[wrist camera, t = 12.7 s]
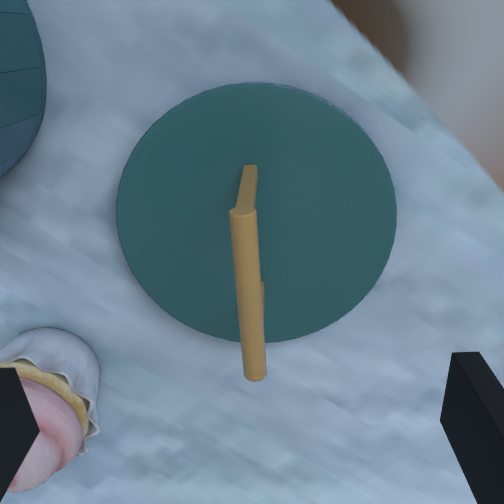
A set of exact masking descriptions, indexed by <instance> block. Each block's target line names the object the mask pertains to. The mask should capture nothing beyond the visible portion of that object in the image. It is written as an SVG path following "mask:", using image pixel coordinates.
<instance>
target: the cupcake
mask: <svg viewBox="0 0 504 504" xmlns="http://www.w3.org/2000/svg"><path fill="white" fill-rule="evenodd" d="M8 367H15V368H16V371H17V374H18V376H19V379H20V381H21V384H22V386H23V389H24V391H25V394H26V396H27V399H28V401H29V404H30V407H31V409H32V412H33V414H34V417H35V419H36V422H37V424H38V427H39V429H40V432H39V434H38V436H37V438H36V439H35V441H34V443H33V445H32V447H31V448H30V450H29V452H28V454H27V455H26V457H25V459H24V461H23V463H22V464H21V466H20V468H19V470H18V472H17V473H16V475H15V477H14V479H13V480H12V482H11V484H10V486H9V488H8V489H7V491H8V492H21V491H26V490H29V489H32V488H35V487H37V486H39V485H41V484H43V483H44V482H45V481H46V480H47V479H48V478H49V477H50V476H51V475H52V474H53V473H55V472H57V471H59V470H60V469H62V468H63V467H65V466H66V465H67V464H68V463H69V462H71V461H72V460H73V459H74V458H75V457H76V455H86V454H87V453H88V439H89V438H91V437H93V436H95V435H97V434H98V433H99V432H100V431H101V429H100V424H99V419H98V414H97V409H96V404H97V394H98V386H99V380H100V365H99V362H98V359H97V357H96V355H95V353H94V351H93V350H92V349H91V347H90V346H89V345H88V344H87V343H86V342H84V341H83V340H82V339H80V338H79V337H77V336H76V335H74V334H72V333H70V332H67V331H64V330H61V329H56V328H49V327H44V328H36V329H32V330H29V331H26V332H23V333H21V334H19V335H18V336H16V337H15V338H14V339H12V340H11V341H9V342H8V343H7V344H5V345H4V346H2V347H1V348H0V368H8Z"/></svg>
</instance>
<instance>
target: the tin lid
mask: <svg viewBox="0 0 504 504" xmlns="http://www.w3.org/2000/svg"><path fill="white" fill-rule="evenodd" d="M396 216H397V207H396V199H395V192H394V188H393V184H392V180H391V177H390V173H389V171H388V169H387V167H386V164H385V162H384V160H383V158H382V156H381V154H380V153H379V151H378V149H377V148H376V146H375V145H374V143H373V142H372V140H371V139H370V138H369V137H368V135H367V134H366V133H365V132H364V131H363V130H362V129H361V127H360V126H359V125H358V124H357V123H356V122H355V121H353V120H352V119H351V118H350V117H349V116H348V115H346V114H345V113H344V112H343V111H342V110H340V109H338V108H337V107H335V106H334V105H332V104H331V103H329V102H328V101H326V100H324V99H322V98H320V97H317V96H315V95H313V94H311V93H309V92H306V91H303V90H299V89H296V88H293V87H289V86H285V85H278V84H271V83H240V84H232V85H225V86H222V87H218V88H214V89H211V90H207V91H204V92H202V93H200V94H198V95H195V96H193V97H191V98H189V99H187V100H185V101H183V102H182V103H180V104H179V105H177V106H175V107H174V108H172V109H171V110H169V111H168V112H167V113H166V114H165V115H163V116H162V117H161V118H160V119H159V120H157V121H156V122H155V123H154V124H153V125H152V126H151V127H150V129H149V130H148V131H147V132H146V133H145V134H144V135H143V136H142V138H141V139H140V141H139V142H138V144H137V145H136V147H135V148H134V150H133V151H132V153H131V155H130V157H129V159H128V162H127V164H126V166H125V168H124V171H123V174H122V178H121V181H120V185H119V189H118V197H117V227H118V234H119V239H120V242H121V246H122V249H123V253H124V255H125V258H126V260H127V262H128V264H129V267H130V269H131V271H132V272H133V274H134V275H135V277H136V279H137V280H138V282H139V283H140V285H141V286H142V287H143V289H144V290H145V291H146V292H147V294H148V295H149V296H150V297H151V298H152V299H153V300H154V301H155V302H156V303H157V304H158V305H159V306H160V307H161V308H163V309H164V310H165V311H166V312H168V313H169V314H170V315H171V316H173V317H174V318H176V319H178V320H179V321H181V322H182V323H184V324H186V325H187V326H190V327H192V328H194V329H196V330H198V331H200V332H203V333H205V334H208V335H211V336H214V337H217V338H222V339H226V340H230V341H237V342H241V350H242V361H243V371H244V376H245V378H246V379H247V380H249V381H260V380H262V379H263V378H265V376H266V374H267V370H266V354H265V343H270V342H280V341H285V340H291V339H295V338H299V337H302V336H305V335H308V334H311V333H313V332H316V331H318V330H320V329H323V328H325V327H326V326H328V325H330V324H332V323H334V322H335V321H337V320H339V319H340V318H341V317H343V316H344V315H345V314H347V313H348V312H349V311H351V310H352V309H353V308H354V307H355V306H356V305H357V304H358V303H359V302H360V301H362V300H363V298H364V297H365V296H366V295H367V294H368V292H369V291H370V290H371V289H372V288H373V286H374V285H375V283H376V281H377V280H378V278H379V277H380V275H381V274H382V271H383V269H384V267H385V265H386V263H387V261H388V259H389V256H390V252H391V249H392V246H393V243H394V237H395V231H396Z"/></svg>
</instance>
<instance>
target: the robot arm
mask: <svg viewBox="0 0 504 504" xmlns="http://www.w3.org/2000/svg"><path fill="white" fill-rule="evenodd" d="M440 422H441V424H442V426H443V429H444V431H445V433H446V435H447V438H448V440H449V442H450V444H451V446H452V449H453V451H454V453H455V455H456V457H457V460H458V462H459V464H460V466H461V468H462V471H463V473H464V475H465V477H466V479H467V482H468V484H469V486H470V488H471V490H472V493H473V495H474V497H475V499H476V502H477V504H504V388H503V387H502V385H501V384H500V382H499V381H498V379H497V378H496V376H495V375H494V373H493V372H492V370H491V369H490V367H489V366H488V364H487V363H486V361H485V360H484V358H483V357H482V355H481V354H480V353H479V352H455V353H452V356H451V361H450V367H449V372H448V378H447V384H446V389H445V395H444V401H443V406H442V412H441V417H440ZM39 432H40V429H39V427H38V424H37V422H36V419H35V417H34V414H33V412H32V409H31V407H30V404H29V401H28V399H27V396H26V394H25V391H24V389H23V386H22V384H21V381H20V379H19V376H18V374H17V371H16V368H15V367H8V368H0V502H1V500H2V498H3V496H4V495H5V493H6V491H7V489H8V488H9V486H10V484H11V482H12V480H13V479H14V477H15V475H16V473H17V472H18V470H19V468H20V466H21V464H22V463H23V461H24V459H25V457H26V455H27V454H28V452H29V450H30V448H31V447H32V445H33V443H34V441H35V439H36V438H37V436H38V434H39Z"/></svg>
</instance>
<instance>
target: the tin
mask: <svg viewBox="0 0 504 504" xmlns="http://www.w3.org/2000/svg"><path fill="white" fill-rule="evenodd" d="M45 98H46V71H45V60H44V55H43V50H42V45H41V40H40V37H39V34H38V30H37V27H36V24H35V21H34V18H33V16H32V13H31V11H30V9H29V6H28V4H27V2H26V0H0V177H2V176H3V175H4V174H5V173H6V172H7V171H9V170H10V169H11V168H12V167H13V166H14V165H15V164H16V163H17V162H19V161H20V159H21V158H22V157H23V156H24V154H25V153H26V152H27V150H28V149H29V148H30V146H31V144H32V142H33V140H34V138H35V136H36V134H37V132H38V129H39V126H40V123H41V120H42V116H43V111H44V106H45Z"/></svg>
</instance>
